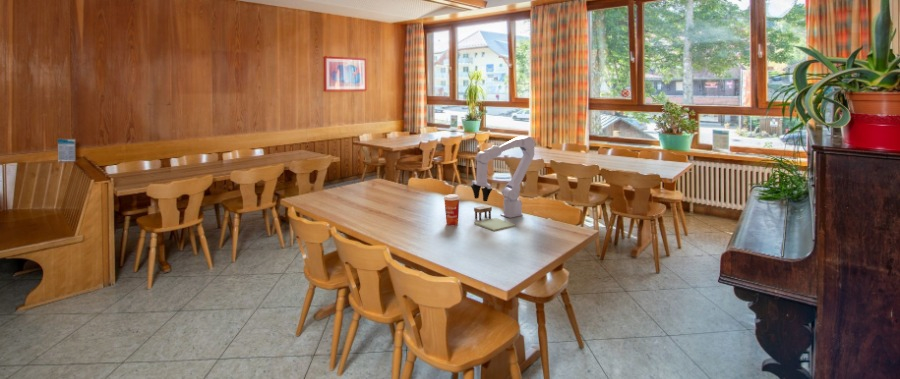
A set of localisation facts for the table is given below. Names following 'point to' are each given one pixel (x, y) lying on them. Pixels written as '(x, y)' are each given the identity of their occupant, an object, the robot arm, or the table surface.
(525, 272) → the table surface
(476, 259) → the table surface
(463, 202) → the table surface
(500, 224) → the mat
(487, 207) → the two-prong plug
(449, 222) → the coffee cup
